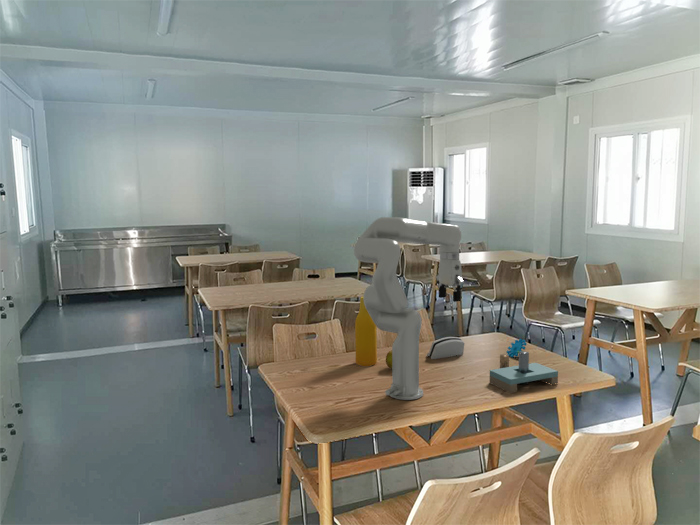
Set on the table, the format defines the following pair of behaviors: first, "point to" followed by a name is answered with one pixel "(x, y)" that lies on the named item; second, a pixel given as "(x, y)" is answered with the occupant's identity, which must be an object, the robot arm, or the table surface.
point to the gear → (516, 347)
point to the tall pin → (523, 364)
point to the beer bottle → (365, 337)
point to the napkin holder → (446, 347)
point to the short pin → (504, 361)
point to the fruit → (389, 359)
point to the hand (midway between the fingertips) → (449, 299)
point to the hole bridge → (521, 376)
